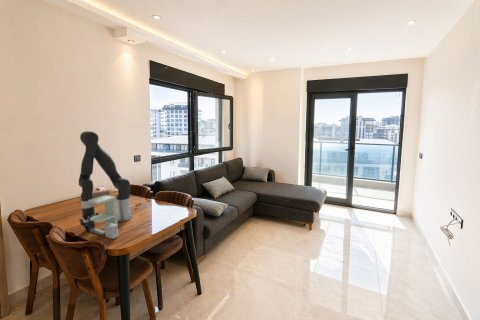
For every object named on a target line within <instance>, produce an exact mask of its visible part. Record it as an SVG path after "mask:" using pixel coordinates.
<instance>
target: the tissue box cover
mask: <svg viewBox="0 0 480 320" xmlns="http://www.w3.org/2000/svg"><path fill="white" fill-rule="evenodd" d="M92 194H93V199H94V198H97V197H101V196H104V195H108V196H110V190H109V189H107V188H106V187H104V186H103V185H100V186H99V185H98V186H93V192H92Z"/></svg>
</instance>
